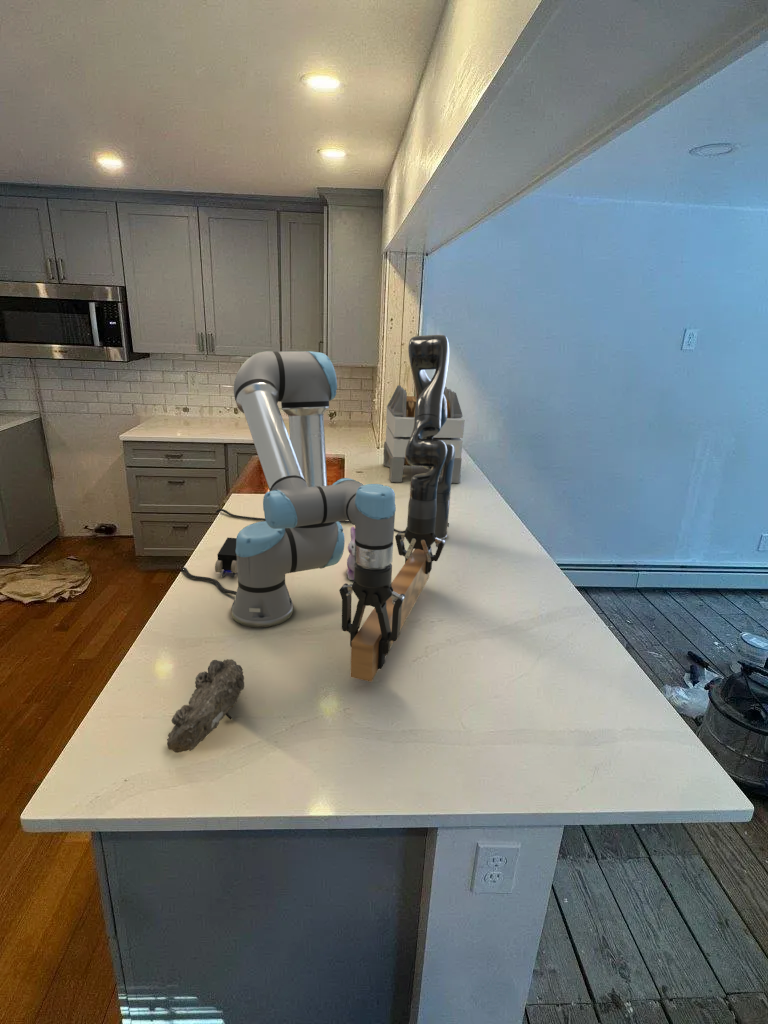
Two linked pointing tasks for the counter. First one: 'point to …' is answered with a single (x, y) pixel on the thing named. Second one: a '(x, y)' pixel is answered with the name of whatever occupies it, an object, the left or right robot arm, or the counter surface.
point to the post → (369, 634)
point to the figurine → (351, 555)
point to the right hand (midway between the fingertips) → (418, 571)
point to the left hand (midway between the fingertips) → (369, 662)
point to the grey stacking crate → (402, 427)
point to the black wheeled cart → (227, 558)
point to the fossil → (206, 705)
